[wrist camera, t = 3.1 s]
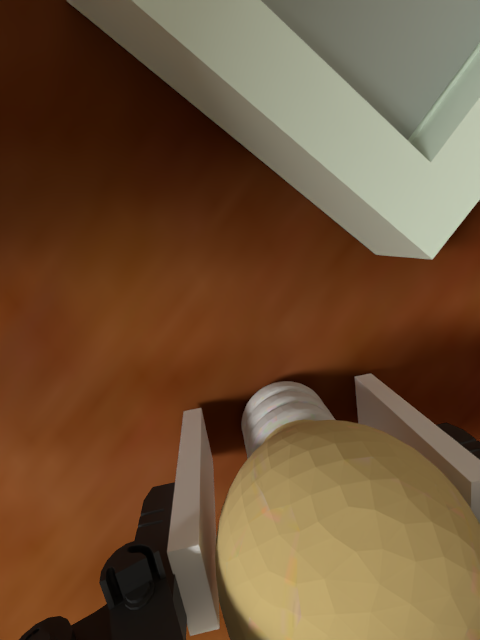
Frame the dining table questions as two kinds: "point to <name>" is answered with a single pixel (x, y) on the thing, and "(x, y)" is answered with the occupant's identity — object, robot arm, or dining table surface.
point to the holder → (332, 99)
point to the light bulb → (341, 533)
